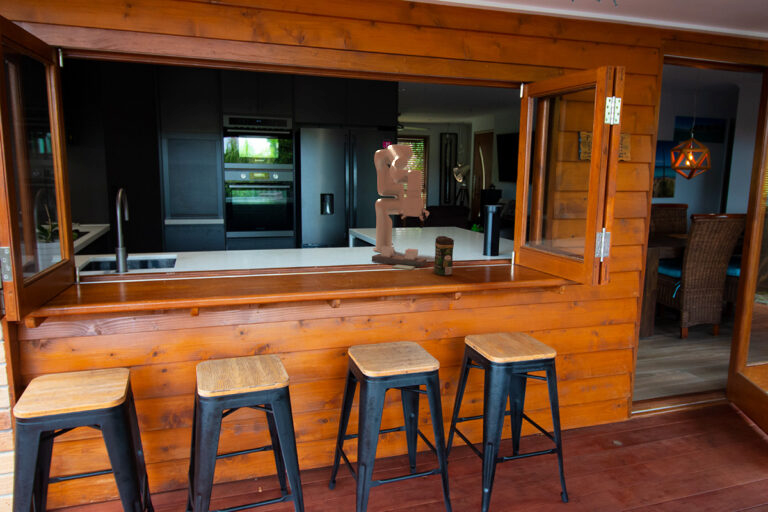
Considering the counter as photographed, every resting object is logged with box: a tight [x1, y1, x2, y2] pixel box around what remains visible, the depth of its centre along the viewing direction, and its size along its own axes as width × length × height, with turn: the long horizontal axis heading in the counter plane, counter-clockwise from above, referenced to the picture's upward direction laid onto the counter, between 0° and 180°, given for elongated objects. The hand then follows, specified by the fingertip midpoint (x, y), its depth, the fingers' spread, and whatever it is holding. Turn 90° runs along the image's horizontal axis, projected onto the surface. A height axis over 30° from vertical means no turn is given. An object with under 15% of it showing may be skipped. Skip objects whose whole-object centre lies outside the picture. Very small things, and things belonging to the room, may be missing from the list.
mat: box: [391, 264, 416, 271], centre depth 267 cm, size 7×10×1 cm
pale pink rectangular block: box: [404, 248, 419, 261], centre depth 276 cm, size 5×5×8 cm
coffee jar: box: [433, 235, 455, 277], centre depth 254 cm, size 10×8×19 cm
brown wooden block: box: [380, 246, 395, 258], centre depth 282 cm, size 5×5×8 cm
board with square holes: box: [371, 253, 428, 268], centre depth 279 cm, size 9×28×3 cm, turn 66°
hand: (412, 227), depth 273 cm, fingers open, 9 cm apart
